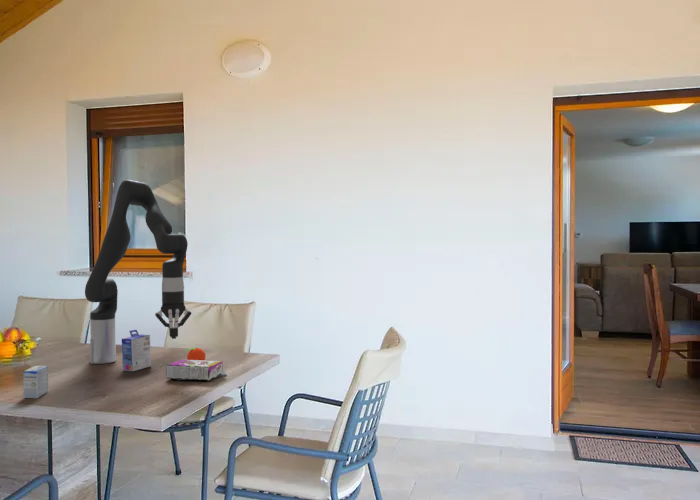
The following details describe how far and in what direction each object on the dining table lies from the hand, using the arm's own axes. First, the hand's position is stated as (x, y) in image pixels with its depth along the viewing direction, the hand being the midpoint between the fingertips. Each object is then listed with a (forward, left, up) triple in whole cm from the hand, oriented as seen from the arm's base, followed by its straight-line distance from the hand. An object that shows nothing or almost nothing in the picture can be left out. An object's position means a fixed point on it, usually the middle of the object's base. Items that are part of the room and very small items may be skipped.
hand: (173, 338), depth 217 cm
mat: (+9, 0, -14) cm, 16 cm away
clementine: (+9, +14, -14) cm, 22 cm away
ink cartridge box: (-12, +18, -14) cm, 26 cm away
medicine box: (-43, -10, -14) cm, 46 cm away
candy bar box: (-1, -1, -10) cm, 11 cm away
